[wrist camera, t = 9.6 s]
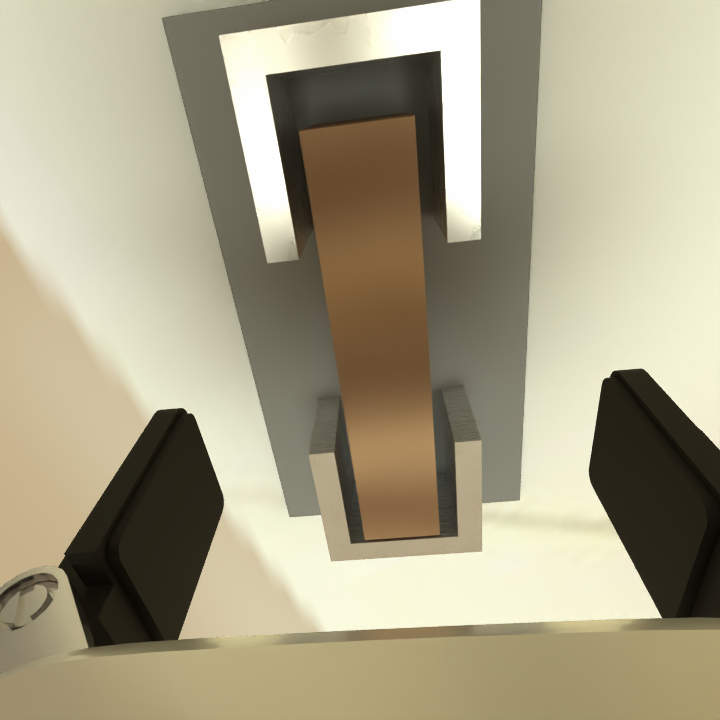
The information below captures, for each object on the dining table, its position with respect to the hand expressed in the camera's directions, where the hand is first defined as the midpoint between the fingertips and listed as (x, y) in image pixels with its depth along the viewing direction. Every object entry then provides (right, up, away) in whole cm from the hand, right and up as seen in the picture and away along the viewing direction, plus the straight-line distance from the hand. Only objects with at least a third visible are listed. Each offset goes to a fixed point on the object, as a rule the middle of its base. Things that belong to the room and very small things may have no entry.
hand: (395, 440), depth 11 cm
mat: (0, +4, +9) cm, 10 cm away
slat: (0, +3, +9) cm, 10 cm away
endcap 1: (-1, +10, +6) cm, 11 cm away
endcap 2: (+1, -2, +12) cm, 12 cm away
